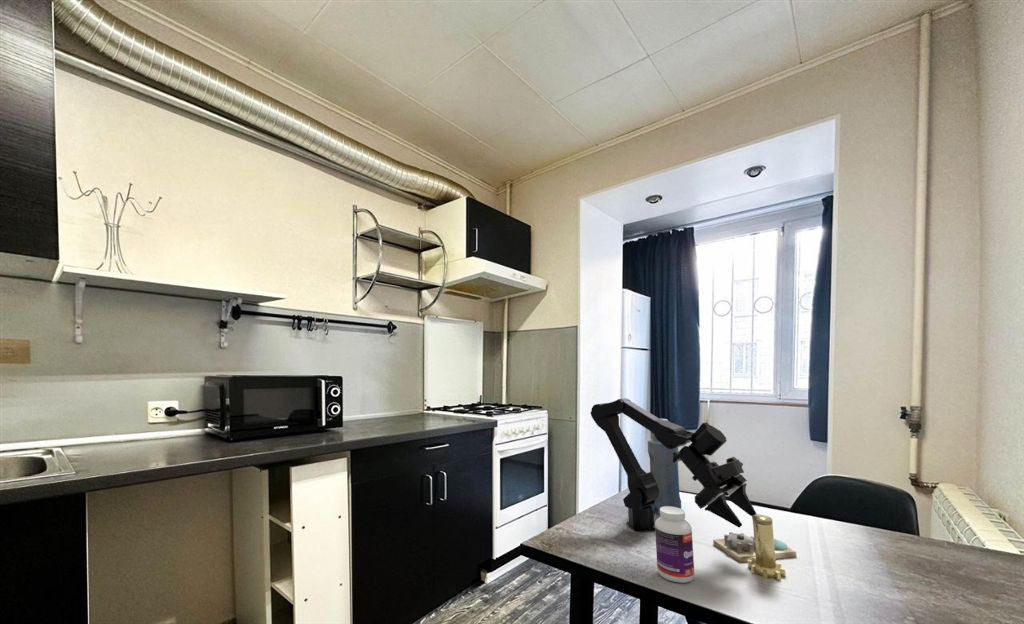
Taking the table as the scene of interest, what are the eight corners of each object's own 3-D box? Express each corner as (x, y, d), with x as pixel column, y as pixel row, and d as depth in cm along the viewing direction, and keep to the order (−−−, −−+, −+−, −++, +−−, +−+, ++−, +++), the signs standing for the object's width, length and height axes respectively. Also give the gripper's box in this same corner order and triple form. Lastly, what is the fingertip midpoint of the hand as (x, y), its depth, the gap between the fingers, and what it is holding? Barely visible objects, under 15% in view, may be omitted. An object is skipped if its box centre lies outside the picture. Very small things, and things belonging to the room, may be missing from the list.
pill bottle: (692, 589, 87) (687, 519, 89) (654, 578, 91) (650, 512, 93) (697, 572, 94) (693, 507, 96) (661, 563, 98) (658, 502, 100)
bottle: (647, 506, 137) (642, 417, 141) (677, 507, 136) (671, 417, 140) (654, 517, 128) (649, 421, 132) (686, 518, 127) (680, 421, 131)
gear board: (739, 562, 99) (738, 545, 99) (713, 544, 108) (712, 529, 109) (799, 556, 101) (797, 540, 102) (768, 539, 111) (767, 524, 112)
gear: (764, 581, 90) (760, 524, 92) (741, 565, 97) (737, 512, 99) (793, 578, 91) (788, 522, 93) (768, 562, 98) (763, 511, 100)
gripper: (703, 452, 98) (757, 512, 88) (735, 442, 110) (786, 494, 100) (675, 479, 103) (723, 538, 93) (708, 467, 115) (754, 518, 105)
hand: (748, 521), depth 98 cm, fingers open, 9 cm apart
